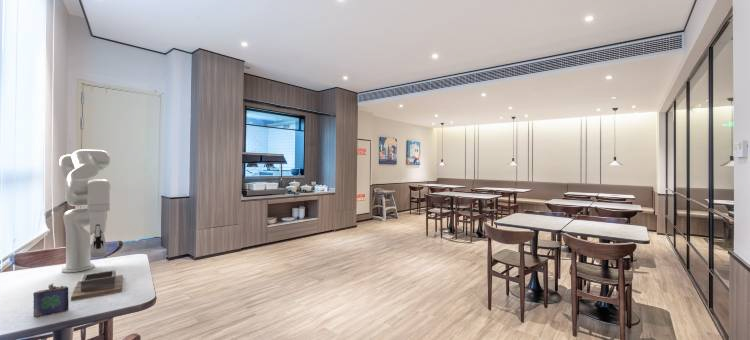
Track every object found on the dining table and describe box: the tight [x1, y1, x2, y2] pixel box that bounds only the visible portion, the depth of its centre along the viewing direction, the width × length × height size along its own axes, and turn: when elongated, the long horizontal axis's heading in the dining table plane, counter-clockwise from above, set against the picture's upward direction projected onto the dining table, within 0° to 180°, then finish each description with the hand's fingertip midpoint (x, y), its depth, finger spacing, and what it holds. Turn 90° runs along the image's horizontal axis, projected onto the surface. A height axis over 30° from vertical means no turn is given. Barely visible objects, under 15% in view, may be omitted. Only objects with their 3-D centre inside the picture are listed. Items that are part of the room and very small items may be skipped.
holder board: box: [70, 269, 124, 302], centre depth 145 cm, size 22×16×6 cm
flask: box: [32, 283, 70, 318], centre depth 120 cm, size 9×3×11 cm, turn 129°
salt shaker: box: [90, 232, 108, 258], centre depth 145 cm, size 6×6×13 cm
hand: (99, 248), depth 145 cm, fingers closed on salt shaker, 3 cm apart
